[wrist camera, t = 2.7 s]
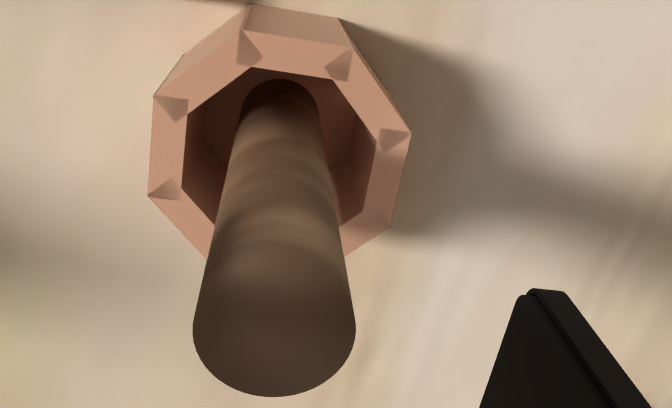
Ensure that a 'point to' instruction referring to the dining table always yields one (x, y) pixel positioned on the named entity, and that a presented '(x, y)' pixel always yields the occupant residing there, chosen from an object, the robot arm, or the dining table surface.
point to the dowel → (276, 255)
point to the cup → (225, 106)
